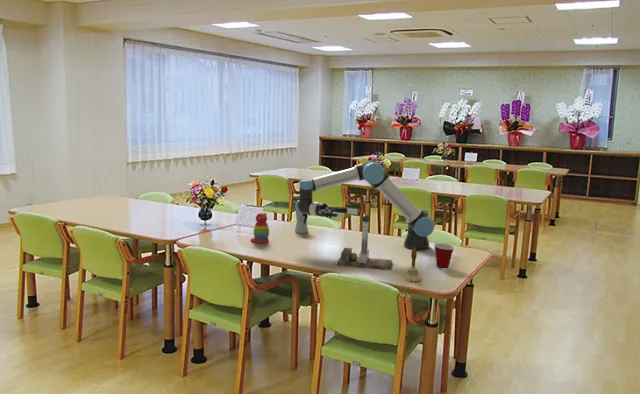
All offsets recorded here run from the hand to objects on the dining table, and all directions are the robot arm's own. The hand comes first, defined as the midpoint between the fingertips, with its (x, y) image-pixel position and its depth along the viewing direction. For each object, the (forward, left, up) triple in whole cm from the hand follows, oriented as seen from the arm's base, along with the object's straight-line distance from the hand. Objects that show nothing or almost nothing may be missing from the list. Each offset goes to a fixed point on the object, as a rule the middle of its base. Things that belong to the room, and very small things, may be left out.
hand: (350, 214), depth 292 cm
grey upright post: (-9, +4, -24) cm, 26 cm away
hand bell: (-36, +24, -26) cm, 50 cm away
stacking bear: (+57, -25, -26) cm, 68 cm away
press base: (-10, +4, -26) cm, 28 cm away
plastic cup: (-51, -2, -26) cm, 57 cm away
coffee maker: (+39, -57, -26) cm, 74 cm away
